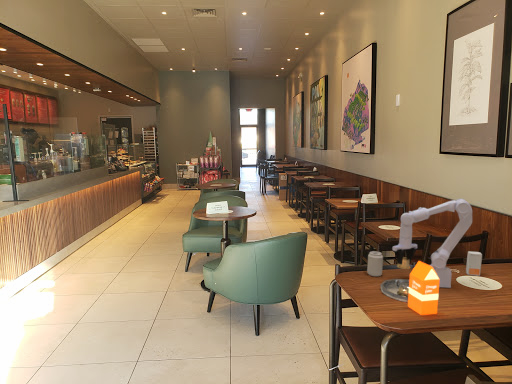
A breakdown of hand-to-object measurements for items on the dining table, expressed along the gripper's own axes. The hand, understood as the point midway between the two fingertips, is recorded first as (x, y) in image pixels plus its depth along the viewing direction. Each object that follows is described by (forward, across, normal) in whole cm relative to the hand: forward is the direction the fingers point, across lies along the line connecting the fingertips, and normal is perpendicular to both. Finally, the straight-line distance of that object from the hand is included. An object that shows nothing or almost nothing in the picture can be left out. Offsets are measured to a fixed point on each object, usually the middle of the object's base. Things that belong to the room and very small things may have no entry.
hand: (404, 263), depth 191 cm
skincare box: (+9, -42, +7) cm, 44 cm away
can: (+9, +8, -12) cm, 17 cm away
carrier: (+9, +10, +14) cm, 19 cm away
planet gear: (+2, 0, 0) cm, 2 cm away
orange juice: (+9, +19, +30) cm, 36 cm away
